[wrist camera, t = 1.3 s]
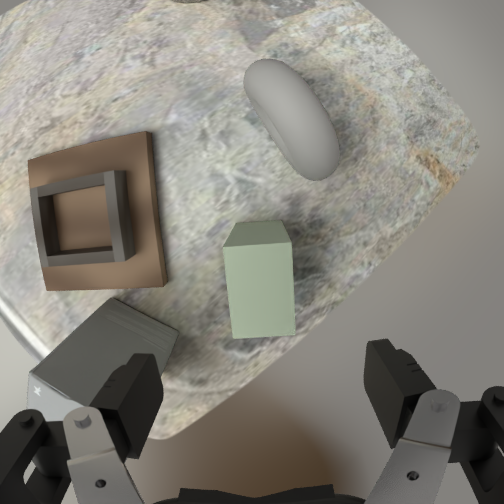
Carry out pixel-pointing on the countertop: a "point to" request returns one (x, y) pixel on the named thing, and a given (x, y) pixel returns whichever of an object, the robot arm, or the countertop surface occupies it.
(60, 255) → the keyed socket board
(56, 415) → the skincare box
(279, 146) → the donut
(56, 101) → the countertop surface
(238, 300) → the keyed peg
